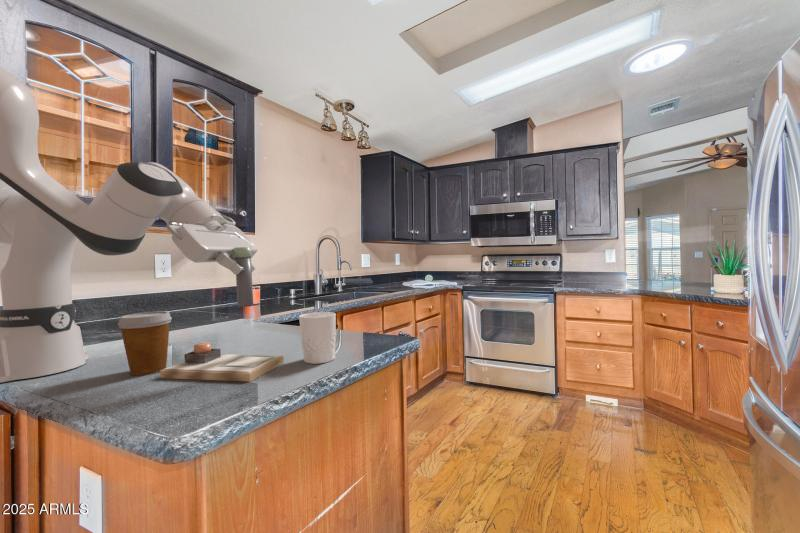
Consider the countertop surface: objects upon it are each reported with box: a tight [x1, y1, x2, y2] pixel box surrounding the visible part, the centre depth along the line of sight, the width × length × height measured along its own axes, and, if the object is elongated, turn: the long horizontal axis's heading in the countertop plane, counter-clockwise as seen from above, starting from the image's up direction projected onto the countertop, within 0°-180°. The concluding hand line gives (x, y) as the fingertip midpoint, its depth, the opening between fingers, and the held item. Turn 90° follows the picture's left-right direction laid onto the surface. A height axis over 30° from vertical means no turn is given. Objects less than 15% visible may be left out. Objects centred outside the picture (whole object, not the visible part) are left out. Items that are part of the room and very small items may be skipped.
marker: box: [234, 247, 254, 308], centre depth 76 cm, size 3×3×12 cm
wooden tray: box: [159, 348, 285, 382], centre depth 77 cm, size 20×12×4 cm, turn 77°
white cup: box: [298, 311, 337, 365], centre depth 82 cm, size 8×8×10 cm
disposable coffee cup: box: [117, 310, 173, 376], centre depth 79 cm, size 10×10×12 cm
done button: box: [193, 342, 212, 354], centre depth 79 cm, size 3×3×2 cm
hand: (246, 271), depth 76 cm, fingers closed on marker, 3 cm apart
